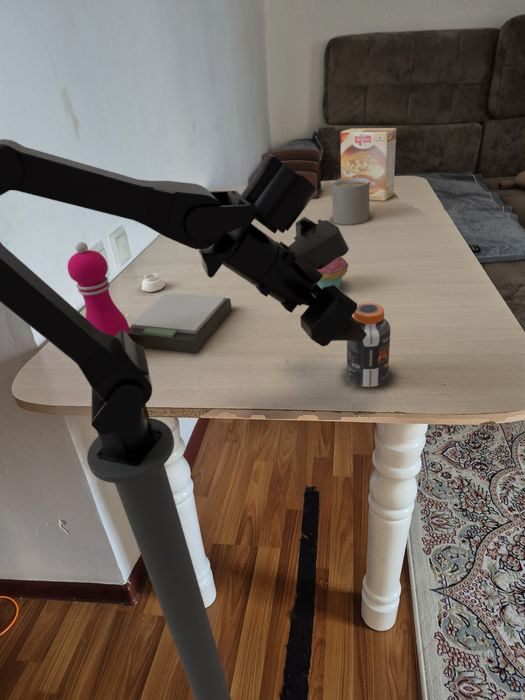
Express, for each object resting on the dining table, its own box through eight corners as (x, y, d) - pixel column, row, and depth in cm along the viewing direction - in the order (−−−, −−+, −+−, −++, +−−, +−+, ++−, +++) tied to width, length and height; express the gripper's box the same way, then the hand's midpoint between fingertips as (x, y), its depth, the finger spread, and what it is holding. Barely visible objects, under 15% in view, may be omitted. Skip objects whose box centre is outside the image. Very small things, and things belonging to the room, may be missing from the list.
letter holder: (265, 192, 169) (261, 150, 162) (321, 190, 164) (320, 146, 157) (258, 200, 161) (253, 156, 154) (317, 198, 156) (315, 152, 149)
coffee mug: (368, 223, 130) (369, 185, 125) (331, 225, 132) (330, 187, 127) (369, 209, 141) (370, 173, 136) (335, 210, 143) (334, 175, 138)
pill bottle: (384, 391, 68) (388, 320, 62) (343, 385, 70) (342, 317, 64) (390, 367, 73) (394, 300, 67) (351, 363, 75) (351, 297, 69)
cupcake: (354, 283, 99) (354, 225, 93) (337, 300, 93) (335, 240, 87) (317, 277, 103) (314, 222, 97) (298, 293, 98) (294, 236, 91)
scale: (195, 353, 82) (192, 336, 80) (126, 345, 86) (121, 329, 85) (232, 309, 94) (229, 294, 93) (169, 305, 99) (166, 290, 97)
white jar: (164, 291, 105) (164, 282, 109) (162, 278, 104) (162, 270, 108) (141, 294, 105) (142, 285, 109) (138, 282, 103) (139, 273, 107)
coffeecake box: (340, 198, 154) (339, 131, 144) (350, 192, 159) (350, 127, 149) (385, 201, 146) (387, 131, 136) (394, 194, 151) (397, 127, 141)
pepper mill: (84, 360, 83) (45, 249, 73) (110, 339, 89) (77, 233, 78) (118, 366, 80) (83, 251, 70) (142, 343, 86) (113, 235, 75)
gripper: (338, 227, 48) (428, 302, 56) (278, 188, 63) (355, 252, 71) (271, 315, 50) (366, 374, 58) (228, 257, 66) (308, 311, 74)
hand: (348, 321), depth 65 cm, fingers open, 9 cm apart
